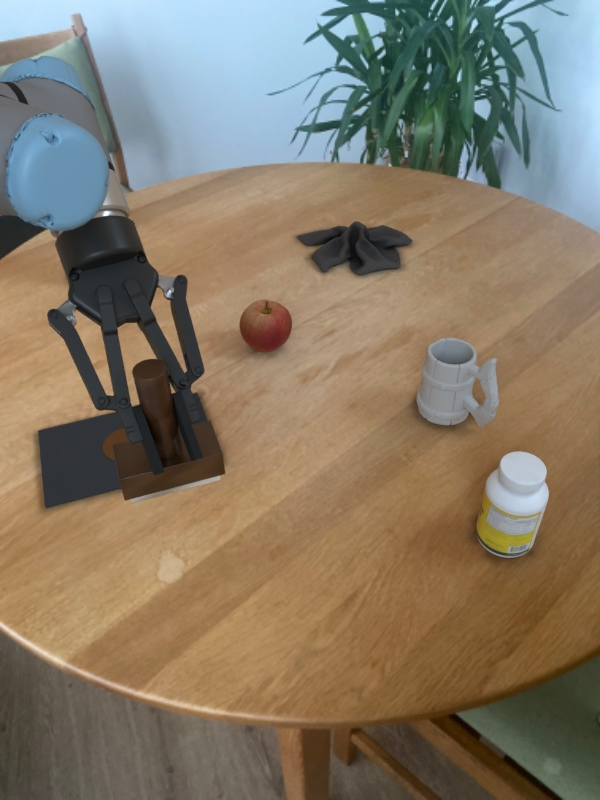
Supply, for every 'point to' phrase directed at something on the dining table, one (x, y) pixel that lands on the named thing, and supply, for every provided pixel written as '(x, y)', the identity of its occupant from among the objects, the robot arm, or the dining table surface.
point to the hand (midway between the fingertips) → (178, 465)
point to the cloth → (357, 247)
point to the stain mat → (84, 457)
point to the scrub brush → (164, 443)
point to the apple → (265, 325)
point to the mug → (456, 384)
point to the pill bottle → (513, 505)
